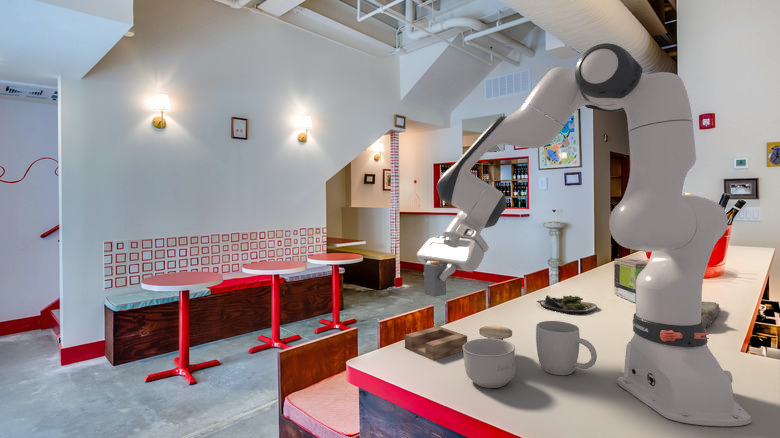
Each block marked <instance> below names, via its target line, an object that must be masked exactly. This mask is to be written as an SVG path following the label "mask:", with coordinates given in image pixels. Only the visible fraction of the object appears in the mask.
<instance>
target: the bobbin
mask: <svg viewBox="0 0 780 438" xmlns="http://www.w3.org/2000/svg"><path fill="white" fill-rule="evenodd" d="M478 332H479V335H480V336H482V337H484V338H490V337H492V336H493V337H496V338H497V339H501V340H505V339H508V338H511V337H513V330H512V329H511V328H509V327H506V326H500V325H486V326H485V325H484V326H482V327H480V328H479V331H478Z"/></svg>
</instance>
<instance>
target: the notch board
mask: <svg viewBox="0 0 780 438" xmlns="http://www.w3.org/2000/svg"><path fill="white" fill-rule="evenodd" d="M466 342H468V335H466V334H463V333H460V332H457V331H454V330H450V329H448V328H445V327H443V326H439V325H436V326H433V327H430V328H426V329H422V330H418V331H414V332H411V333H407V334H404V348H405V349H407V350H409V351H411V352H413V353H416V354H418V355H421V356H422V357H425V358H427V359H429V360H432V361H434V360H437V359H441V358H445V357H448V356H450V355H454V354H456V353H459V352H460V353H461V352H463V345H464V344H465V343H466Z"/></svg>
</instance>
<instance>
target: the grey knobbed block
mask: <svg viewBox="0 0 780 438" xmlns="http://www.w3.org/2000/svg"><path fill="white" fill-rule="evenodd" d="M445 269H446V264H443V263H440V262H439V261H430V263H427V264H423V273H424V275H423V279H424V282H423V283H424V285H423V286H424V287H423V289H424V292H423V293H424V295H426V296H431V297H435V298H436V297H440V296H446V295H447V279H446V280H445V281H441V280H439V279H438V278H437V276H438V275H439V273H440V272H443V271H444V270H445Z"/></svg>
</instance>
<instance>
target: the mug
mask: <svg viewBox="0 0 780 438" xmlns="http://www.w3.org/2000/svg"><path fill="white" fill-rule="evenodd" d="M535 327H536V328H535V343H536V344H535V345H536V351H537V358H538V363H539V365H540V367H541V368H542V370H543V371H544V372H546V373H548V374H551V375H555V376H556V375H557V376H568V375H571V374H573V373H574V371H575V369H576V368H577V369H581V370H588V369H590V368H593V366H594V365H595V364H596V362H597V358H598V355H597V350H596V348H595V347H594V345H593V344H592V343H591V342H590V341H589V340H587V339H584V338H580V328H579V327H578V326H577V325H575V324H572V323H569V322H566V321H565V322H564V321H558V320H544V321H540V322H538V323H537V324H536V326H535ZM580 344H581V345H583V346H584V347H586V348H587V350H588V351H589V352H590V360H589V361H588V362H584V363H582V362H578V360H579V353H580Z"/></svg>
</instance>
